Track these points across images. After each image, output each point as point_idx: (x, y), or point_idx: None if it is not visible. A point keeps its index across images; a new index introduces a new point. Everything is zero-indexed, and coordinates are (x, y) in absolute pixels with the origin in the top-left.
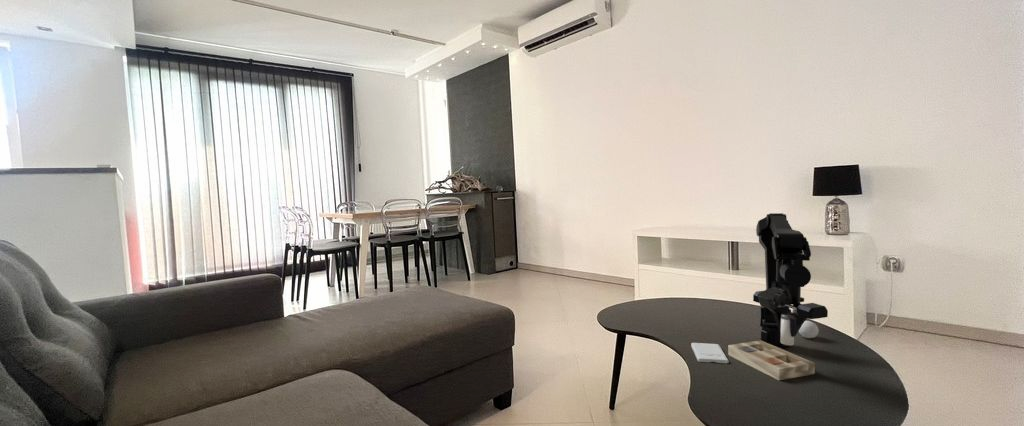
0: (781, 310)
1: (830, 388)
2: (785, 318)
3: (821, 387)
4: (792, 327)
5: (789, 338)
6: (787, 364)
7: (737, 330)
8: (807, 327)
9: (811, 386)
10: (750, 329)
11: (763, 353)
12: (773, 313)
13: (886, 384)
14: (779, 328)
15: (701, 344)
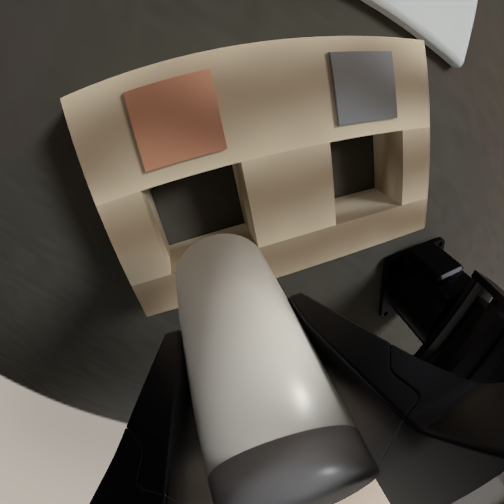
0: (414, 483)
1: (24, 268)
2: (245, 469)
3: (25, 242)
4: (143, 410)
5: (181, 304)
6: (124, 181)
7: (501, 229)
8: None
9: (27, 210)
10: (489, 266)
11: (297, 135)
12: (456, 389)
13: (95, 406)
14: (311, 310)
15: (466, 4)
